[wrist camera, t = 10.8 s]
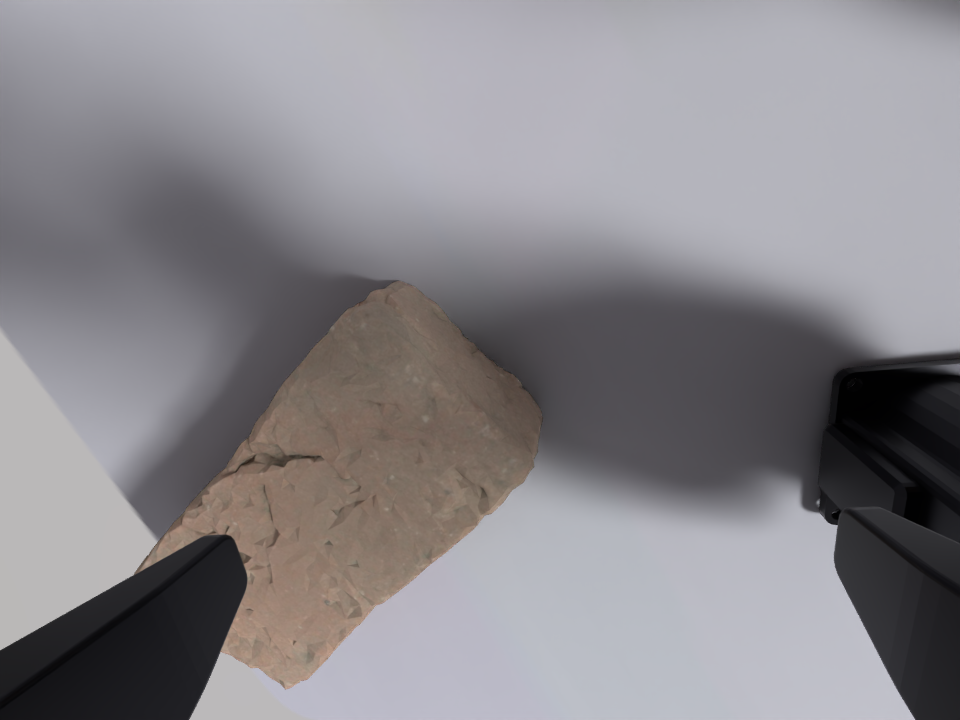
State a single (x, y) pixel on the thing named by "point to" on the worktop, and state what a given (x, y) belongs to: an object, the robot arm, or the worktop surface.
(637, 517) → the worktop surface
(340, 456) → the brick
